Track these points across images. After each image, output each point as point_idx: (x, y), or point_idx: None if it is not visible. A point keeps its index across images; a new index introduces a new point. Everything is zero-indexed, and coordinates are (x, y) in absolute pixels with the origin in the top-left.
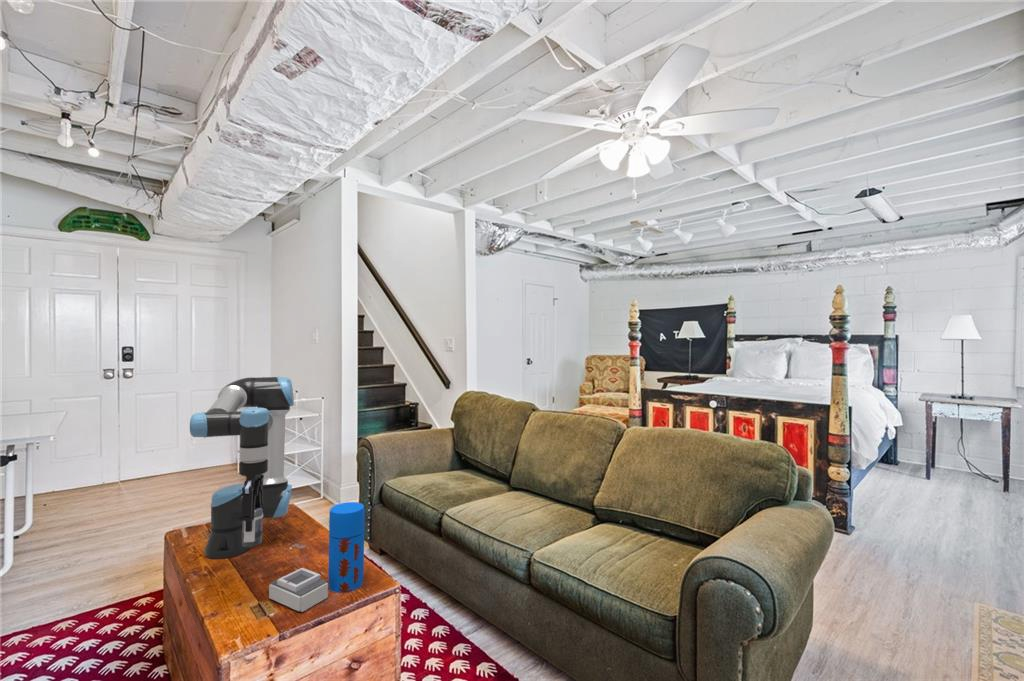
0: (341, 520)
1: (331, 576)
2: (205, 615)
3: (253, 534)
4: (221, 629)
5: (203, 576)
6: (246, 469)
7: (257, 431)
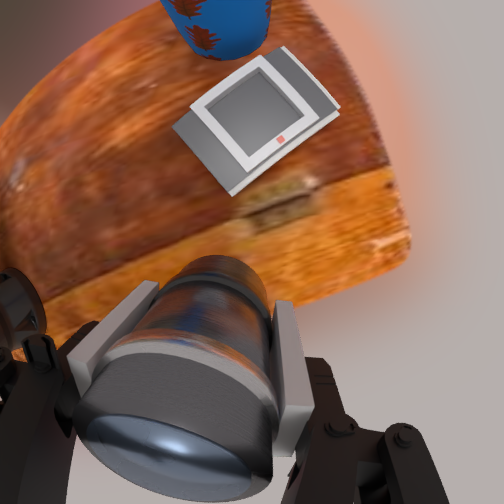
0: None
1: (248, 37)
2: None
3: (295, 328)
4: (329, 280)
5: None
6: None
7: None
